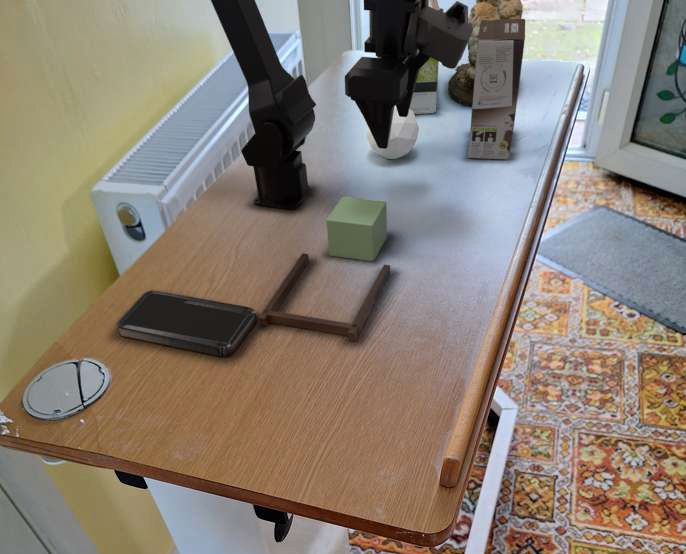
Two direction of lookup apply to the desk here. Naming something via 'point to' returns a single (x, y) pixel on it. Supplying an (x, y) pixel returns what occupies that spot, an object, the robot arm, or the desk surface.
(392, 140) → the geometric ball
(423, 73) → the tea box
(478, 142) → the coffee box
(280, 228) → the desk surface
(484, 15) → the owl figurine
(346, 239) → the block
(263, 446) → the desk surface
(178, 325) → the phone
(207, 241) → the desk surface
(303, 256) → the bay
